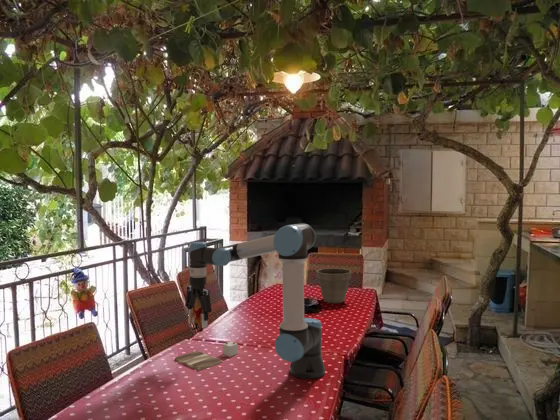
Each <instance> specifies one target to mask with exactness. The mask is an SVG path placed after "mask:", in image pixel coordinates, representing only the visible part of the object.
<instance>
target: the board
mask: <svg viewBox="0 0 560 420" xmlns="http://www.w3.org/2000/svg"><path fill="white" fill-rule="evenodd" d="M175 360H176V362H177V363H180V364H182V363H183V364H182V365H184V364H185V366H188V367H189V368H191V367H192V368H191V369H193V368H194V369H193V370H195V369H196V371H198V372H200V371H203V370H206V369H208V368H211V367H213V365H214V366H217V365H220V364H222V363H223V360H222V359H219V358H218V357H214V356H212V355H209V354H207V353H204V352H202V351H200V350H194V351H191V352H189V353H184V354H182V355H179V356H175V357H174V361H175ZM205 368H206V369H205ZM202 369H203V370H202Z"/></svg>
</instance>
